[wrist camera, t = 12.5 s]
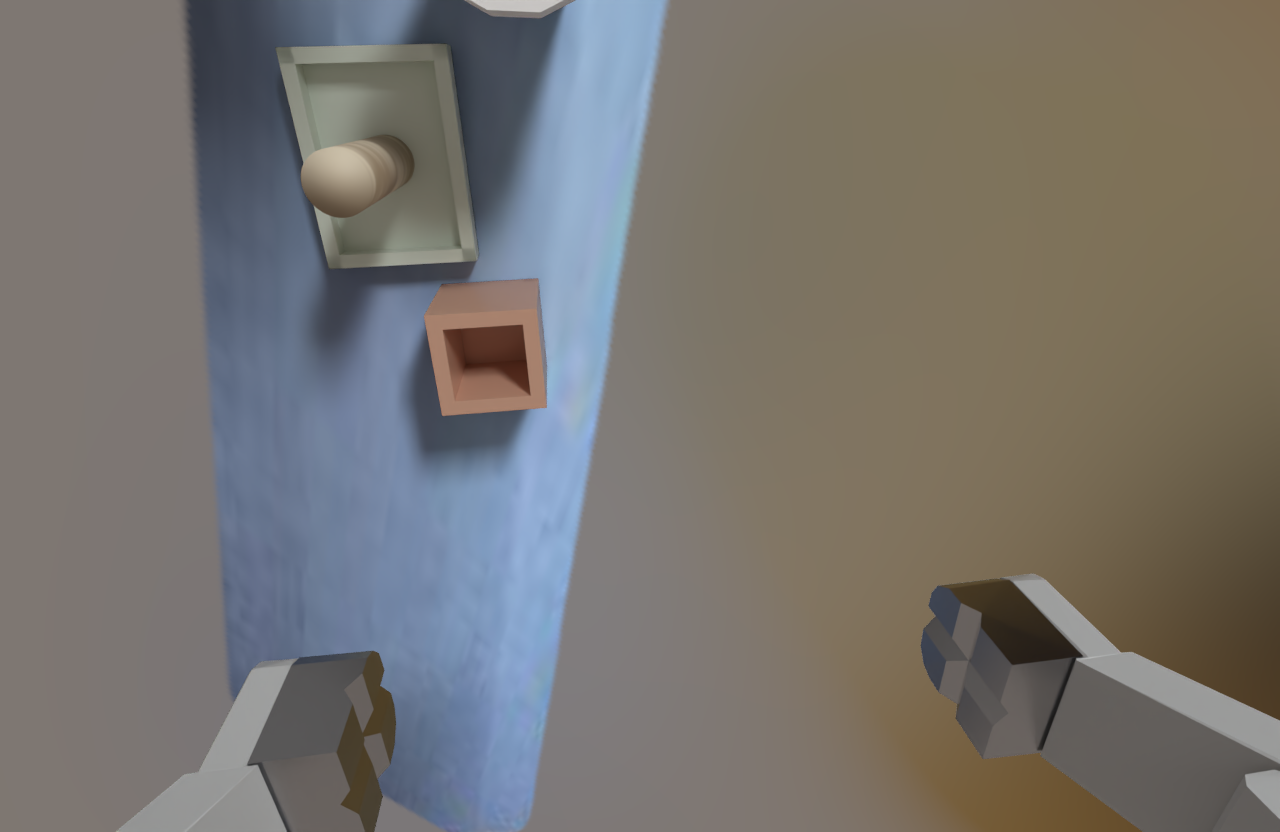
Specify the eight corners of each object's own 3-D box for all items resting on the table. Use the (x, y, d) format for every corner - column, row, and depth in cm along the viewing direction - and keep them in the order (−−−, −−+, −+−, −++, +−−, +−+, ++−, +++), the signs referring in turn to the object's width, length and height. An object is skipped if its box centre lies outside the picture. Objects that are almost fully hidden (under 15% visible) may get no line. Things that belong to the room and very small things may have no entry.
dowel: (357, 135, 38) (292, 149, 29) (409, 133, 39) (363, 146, 29) (368, 189, 40) (310, 219, 30) (418, 186, 40) (377, 216, 30)
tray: (287, 49, 37) (275, 47, 35) (450, 45, 37) (446, 43, 36) (337, 262, 42) (329, 269, 40) (479, 254, 43) (476, 261, 41)
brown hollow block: (441, 284, 43) (423, 315, 37) (538, 278, 44) (536, 308, 38) (456, 372, 46) (442, 415, 40) (546, 366, 47) (546, 407, 41)
